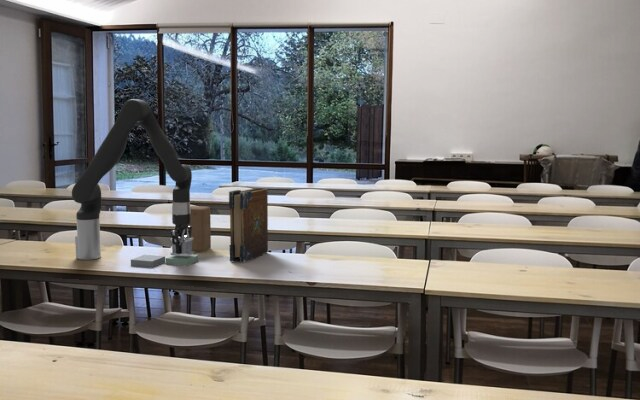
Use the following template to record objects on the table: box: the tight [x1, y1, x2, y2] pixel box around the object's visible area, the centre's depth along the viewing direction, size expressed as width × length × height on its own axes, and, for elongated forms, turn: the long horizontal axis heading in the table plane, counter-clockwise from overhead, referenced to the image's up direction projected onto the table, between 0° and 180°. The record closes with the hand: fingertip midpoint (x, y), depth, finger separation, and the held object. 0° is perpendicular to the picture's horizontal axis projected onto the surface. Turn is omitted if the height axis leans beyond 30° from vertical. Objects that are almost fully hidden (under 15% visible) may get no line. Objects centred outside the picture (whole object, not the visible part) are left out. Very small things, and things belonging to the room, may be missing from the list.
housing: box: [169, 237, 195, 256], centre depth 252 cm, size 8×5×7 cm, turn 74°
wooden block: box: [188, 205, 212, 253], centre depth 278 cm, size 10×10×20 cm
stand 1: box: [130, 254, 166, 268], centre depth 250 cm, size 10×10×2 cm
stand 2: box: [165, 254, 200, 267], centre depth 253 cm, size 10×10×2 cm
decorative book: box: [228, 187, 269, 264], centre depth 263 cm, size 23×7×30 cm, turn 157°
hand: (182, 252), depth 253 cm, fingers closed on housing, 5 cm apart
